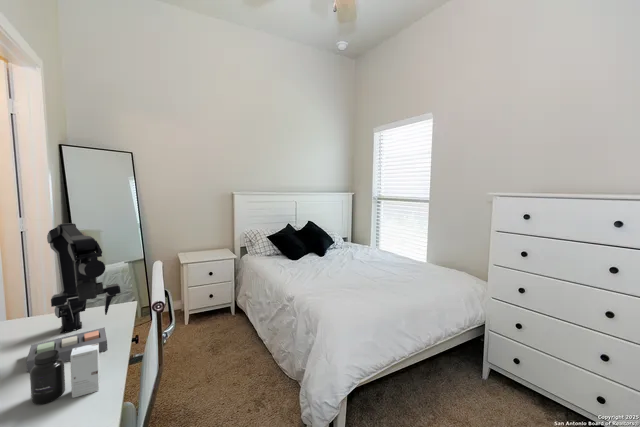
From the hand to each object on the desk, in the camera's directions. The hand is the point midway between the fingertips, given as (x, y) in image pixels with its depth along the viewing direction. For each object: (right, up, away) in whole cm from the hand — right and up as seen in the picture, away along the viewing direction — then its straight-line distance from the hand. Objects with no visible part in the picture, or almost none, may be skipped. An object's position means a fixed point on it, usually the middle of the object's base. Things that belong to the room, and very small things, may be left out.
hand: (89, 318), depth 104 cm
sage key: (-9, -9, -6) cm, 15 cm away
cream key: (-5, -9, -3) cm, 10 cm away
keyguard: (-5, -11, -2) cm, 12 cm away
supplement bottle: (+7, -13, -23) cm, 28 cm away
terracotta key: (0, -9, +1) cm, 9 cm away
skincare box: (+15, -13, -21) cm, 29 cm away
